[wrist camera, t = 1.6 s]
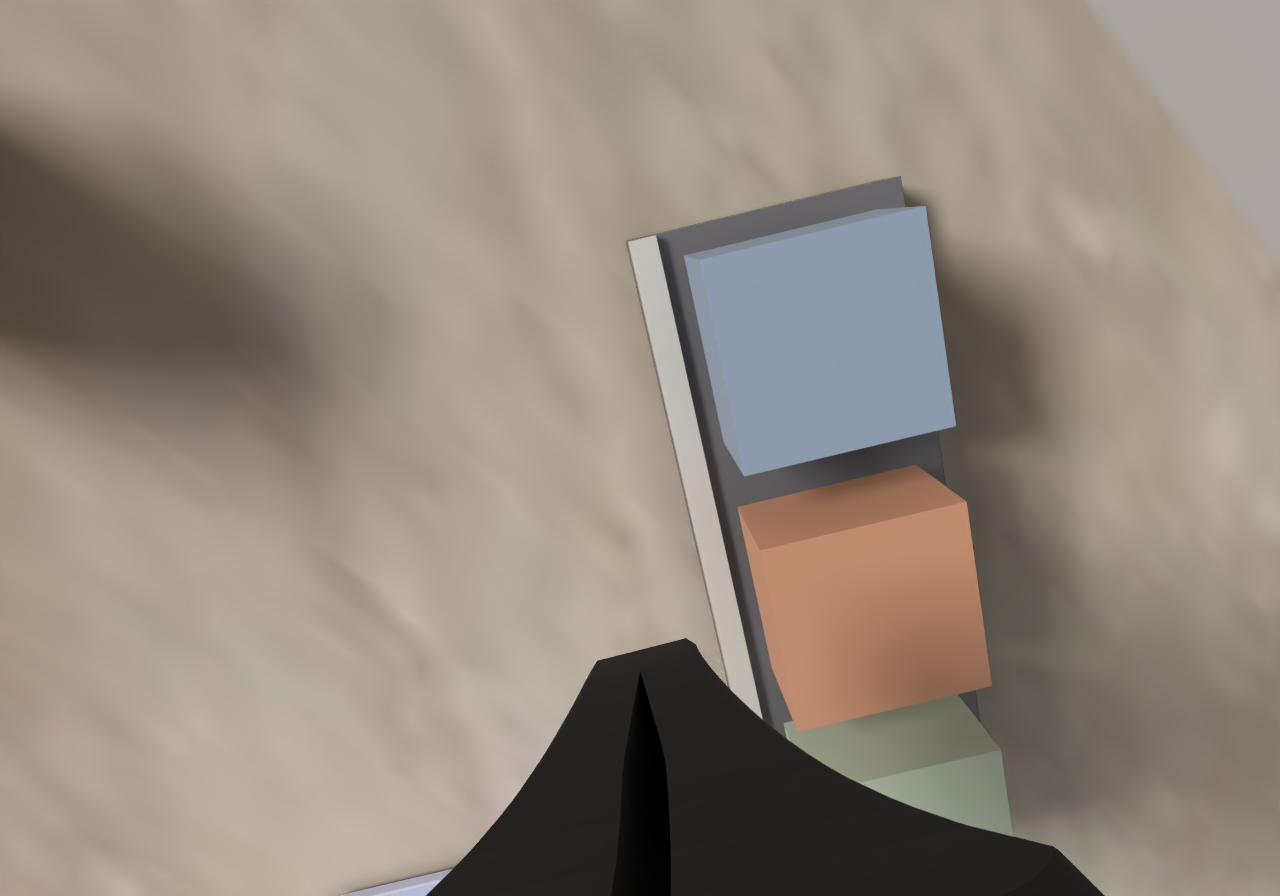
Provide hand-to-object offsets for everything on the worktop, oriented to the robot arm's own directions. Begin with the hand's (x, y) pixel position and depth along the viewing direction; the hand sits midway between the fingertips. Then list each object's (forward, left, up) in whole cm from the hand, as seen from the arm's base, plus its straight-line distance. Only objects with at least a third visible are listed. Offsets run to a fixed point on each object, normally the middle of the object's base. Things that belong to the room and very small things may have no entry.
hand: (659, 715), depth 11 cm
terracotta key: (-2, -4, -7) cm, 9 cm away
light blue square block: (+3, -4, -8) cm, 9 cm away
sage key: (-8, -4, -7) cm, 12 cm away
